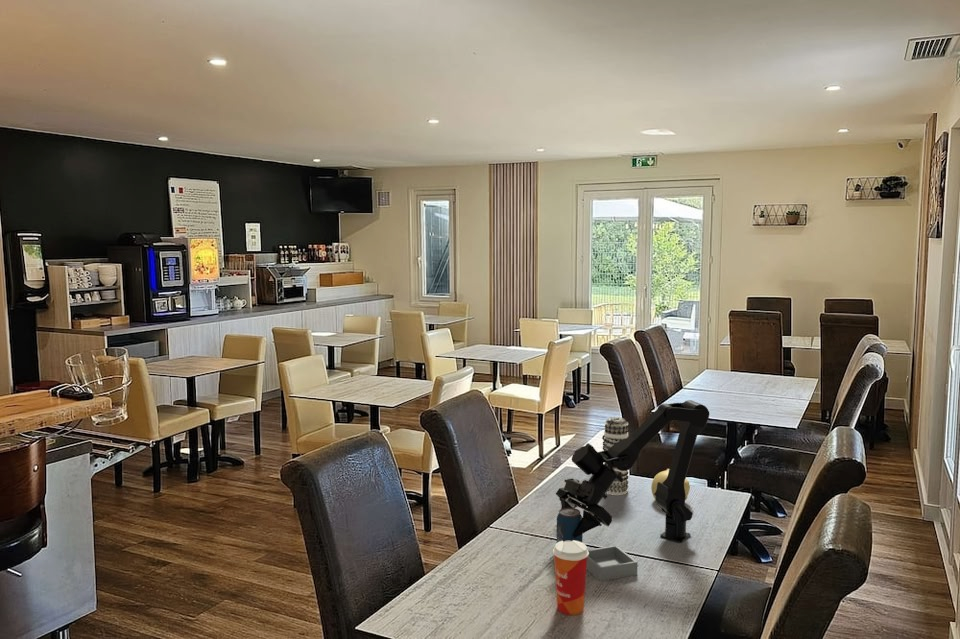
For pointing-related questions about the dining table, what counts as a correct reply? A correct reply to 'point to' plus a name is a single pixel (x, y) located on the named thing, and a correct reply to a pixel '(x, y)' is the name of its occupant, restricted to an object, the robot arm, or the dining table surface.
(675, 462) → the robot arm
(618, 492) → the decorative candle
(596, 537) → the dining table surface
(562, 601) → the coffee cup
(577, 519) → the soda can
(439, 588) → the dining table surface
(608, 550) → the tray
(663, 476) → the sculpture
